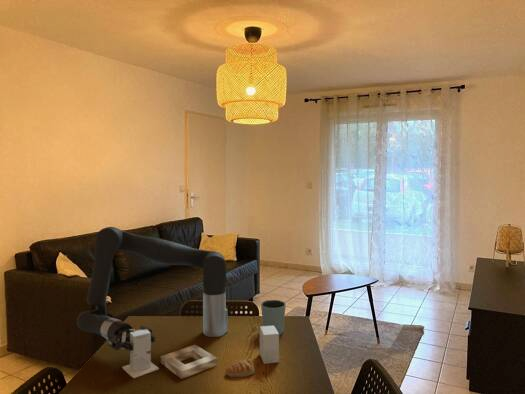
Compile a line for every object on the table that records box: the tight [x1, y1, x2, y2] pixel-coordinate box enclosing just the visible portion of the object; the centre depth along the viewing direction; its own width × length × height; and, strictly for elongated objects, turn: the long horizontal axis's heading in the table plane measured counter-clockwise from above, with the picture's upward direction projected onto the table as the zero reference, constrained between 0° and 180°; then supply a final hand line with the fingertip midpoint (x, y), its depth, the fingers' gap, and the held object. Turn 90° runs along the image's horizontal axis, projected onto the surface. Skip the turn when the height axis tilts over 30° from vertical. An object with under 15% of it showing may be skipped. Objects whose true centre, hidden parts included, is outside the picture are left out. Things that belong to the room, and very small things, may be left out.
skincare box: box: [129, 329, 152, 372], centre depth 138 cm, size 6×4×12 cm
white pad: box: [121, 361, 160, 379], centre depth 138 cm, size 9×9×1 cm
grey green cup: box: [260, 299, 287, 336], centre depth 169 cm, size 10×10×12 cm
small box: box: [259, 325, 280, 365], centre depth 146 cm, size 8×6×10 cm
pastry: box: [225, 358, 256, 378], centre depth 136 cm, size 9×7×4 cm
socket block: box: [160, 344, 218, 380], centre depth 141 cm, size 14×14×2 cm
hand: (143, 343), depth 136 cm, fingers open, 8 cm apart
